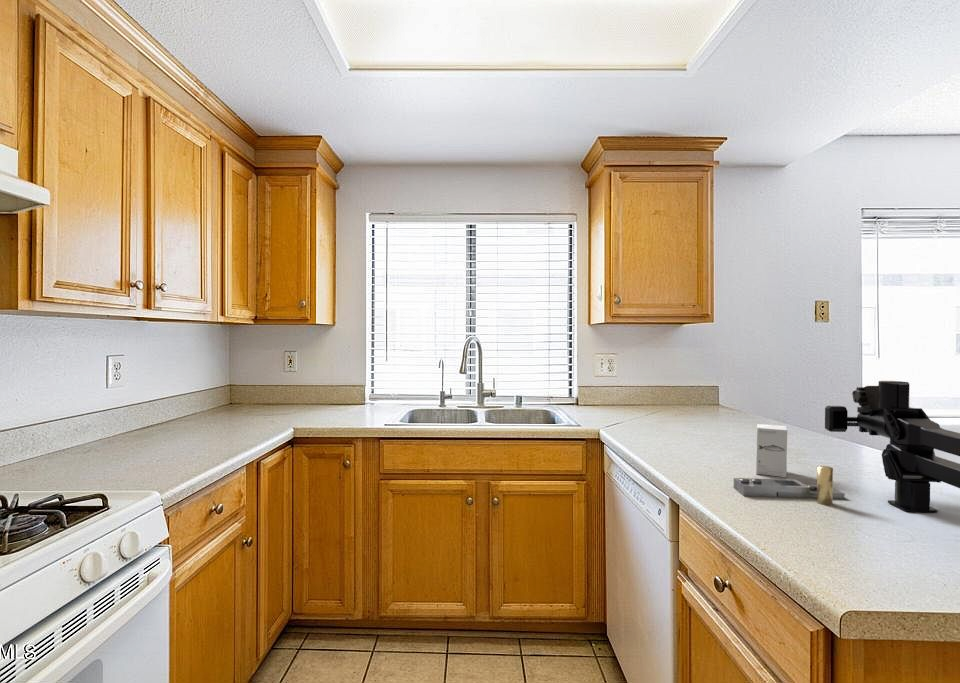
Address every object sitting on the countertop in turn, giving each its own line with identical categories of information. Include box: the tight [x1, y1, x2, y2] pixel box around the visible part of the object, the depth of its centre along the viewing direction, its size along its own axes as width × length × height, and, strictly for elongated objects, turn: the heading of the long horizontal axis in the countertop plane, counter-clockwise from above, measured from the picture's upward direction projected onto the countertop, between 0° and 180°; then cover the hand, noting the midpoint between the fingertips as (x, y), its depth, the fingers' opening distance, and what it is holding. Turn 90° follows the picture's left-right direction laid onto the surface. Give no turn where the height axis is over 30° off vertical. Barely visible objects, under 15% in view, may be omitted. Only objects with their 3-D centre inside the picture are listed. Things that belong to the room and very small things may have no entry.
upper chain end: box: [733, 477, 810, 498], centre depth 134 cm, size 7×14×3 cm, turn 85°
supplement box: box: [755, 423, 788, 478], centre depth 152 cm, size 7×7×13 cm
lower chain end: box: [776, 484, 846, 500], centre depth 133 cm, size 7×14×2 cm, turn 85°
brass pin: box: [816, 465, 834, 506], centre depth 126 cm, size 3×3×8 cm
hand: (848, 414), depth 147 cm, fingers open, 9 cm apart
